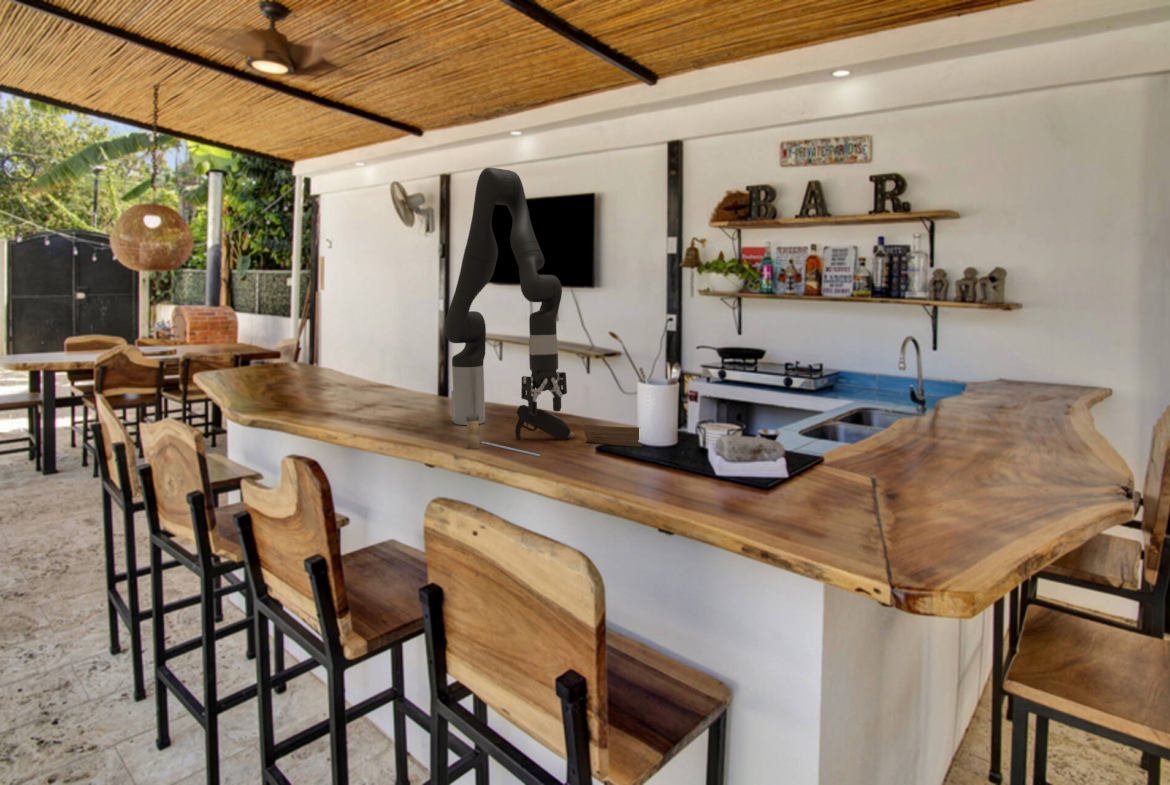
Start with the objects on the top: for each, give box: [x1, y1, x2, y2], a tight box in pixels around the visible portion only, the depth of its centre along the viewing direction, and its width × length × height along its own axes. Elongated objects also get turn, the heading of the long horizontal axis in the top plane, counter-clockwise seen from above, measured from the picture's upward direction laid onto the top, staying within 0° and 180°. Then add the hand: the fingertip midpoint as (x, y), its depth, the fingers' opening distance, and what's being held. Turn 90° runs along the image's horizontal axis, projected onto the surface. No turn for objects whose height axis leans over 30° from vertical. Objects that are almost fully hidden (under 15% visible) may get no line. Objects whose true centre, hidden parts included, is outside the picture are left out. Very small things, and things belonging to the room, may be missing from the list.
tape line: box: [479, 441, 542, 457], centre depth 172 cm, size 22×1×1 cm, turn 47°
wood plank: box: [583, 424, 642, 448], centre depth 176 cm, size 15×2×5 cm, turn 69°
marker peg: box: [466, 415, 481, 450], centre depth 174 cm, size 3×3×8 cm
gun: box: [514, 404, 575, 441], centre depth 183 cm, size 3×16×10 cm, turn 89°
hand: (545, 413), depth 182 cm, fingers open, 8 cm apart
